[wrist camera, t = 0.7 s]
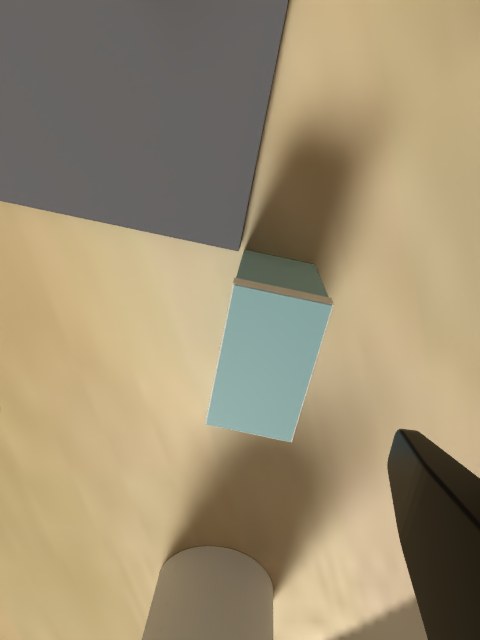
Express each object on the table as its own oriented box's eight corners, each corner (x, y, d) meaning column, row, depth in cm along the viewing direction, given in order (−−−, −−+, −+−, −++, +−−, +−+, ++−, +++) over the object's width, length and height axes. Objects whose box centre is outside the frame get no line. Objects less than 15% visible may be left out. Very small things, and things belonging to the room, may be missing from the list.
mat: (301, -64, 15) (302, -73, 15) (239, 248, 20) (238, 251, 19) (-121, -157, 15) (-136, -169, 14) (-87, 179, 20) (-97, 180, 19)
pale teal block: (316, 263, 20) (334, 304, 14) (286, 371, 22) (291, 443, 16) (243, 248, 20) (233, 283, 14) (221, 357, 22) (204, 425, 16)
